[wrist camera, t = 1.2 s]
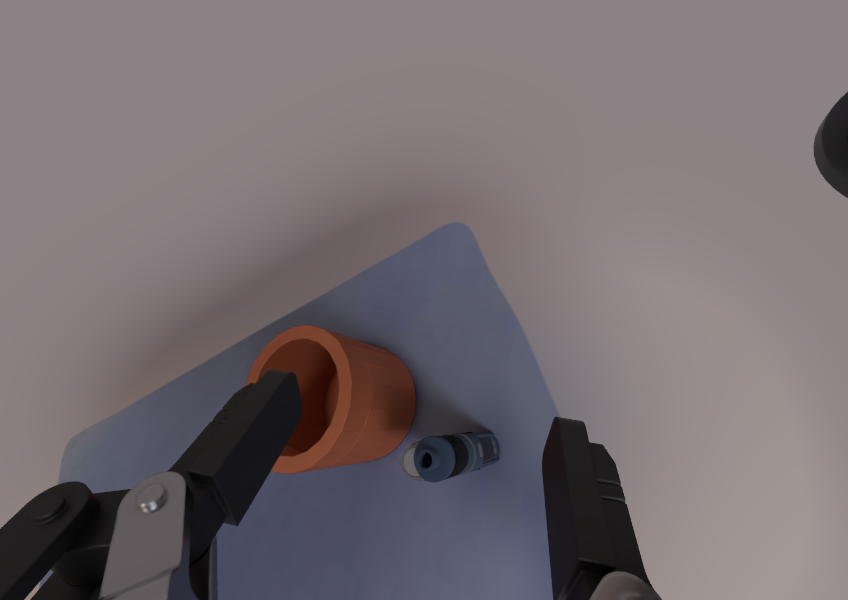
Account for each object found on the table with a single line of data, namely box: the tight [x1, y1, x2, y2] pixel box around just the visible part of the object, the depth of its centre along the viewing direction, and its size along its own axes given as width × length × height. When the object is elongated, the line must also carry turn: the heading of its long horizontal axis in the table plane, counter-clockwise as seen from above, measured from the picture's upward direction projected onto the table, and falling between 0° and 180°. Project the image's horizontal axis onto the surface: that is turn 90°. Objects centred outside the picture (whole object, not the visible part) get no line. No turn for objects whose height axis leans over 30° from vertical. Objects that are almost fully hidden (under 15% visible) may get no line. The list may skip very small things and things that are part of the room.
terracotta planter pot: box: [245, 325, 416, 474], centre depth 31 cm, size 11×11×10 cm
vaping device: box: [402, 432, 500, 482], centre depth 25 cm, size 3×5×12 cm, turn 102°
